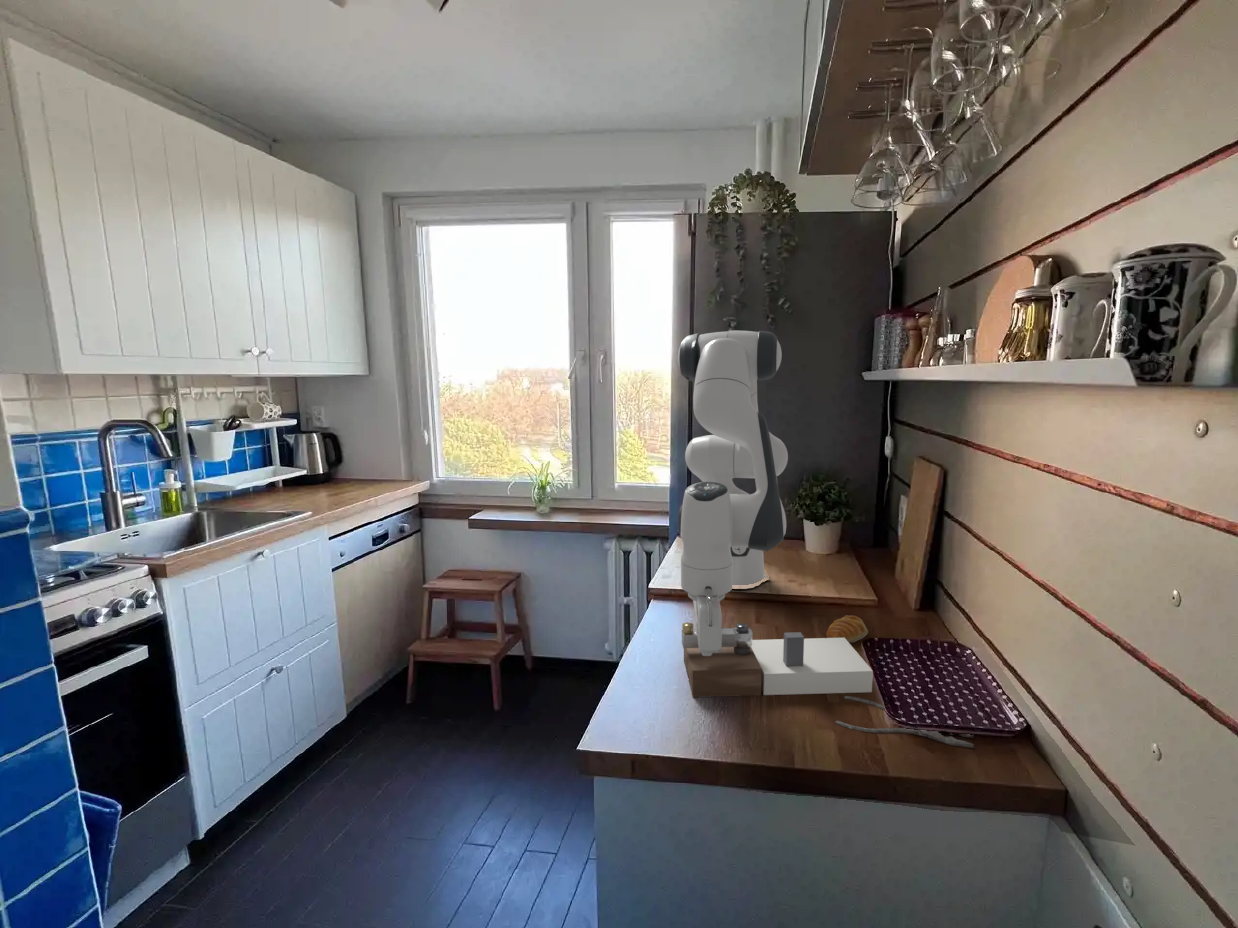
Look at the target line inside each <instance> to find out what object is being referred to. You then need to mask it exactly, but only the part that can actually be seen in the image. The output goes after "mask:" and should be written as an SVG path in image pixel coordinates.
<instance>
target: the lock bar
mask: <svg viewBox="0 0 1238 928" xmlns="http://www.w3.org/2000/svg"><path fill="white" fill-rule="evenodd" d="M749 627H750V626H749V624H747V623H742V622H741V623H737V624H736V626H735V627H733V628H728V627H727V628H722V647H738V648H749V647H751V646H752V640H753V629H751V628H749ZM681 644H682V649H684V648H699V646H698V637H697V628H695V629H694V623H692V622H683V623H682V628H681Z"/></svg>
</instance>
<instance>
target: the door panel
mask: <svg viewBox="0 0 1238 928" xmlns="http://www.w3.org/2000/svg"><path fill="white" fill-rule="evenodd" d="M751 648H752V650H753V652H754V654H755V656H756V658H757V660H758V662H759V664H760V666H761V668H762V675H761V693H762V695H763V696H775V695H776V696H777V695H778V696H779V695H782V696H783V695H815V694H816V695H818V694H819V695H820V694H847V693H848V694H851V693H852V694H854V693H855V694H856V693H872V692H873V678H874V677H873V676H874V671H873V669H872V668H871V667H870V666H869V665H868V663H867V662H866V661H865V660H864V659H863V657H862V656H860V654H859V653H858V652H857V650H855V648H854V647H853V646H852V644H851V643H849V642H848V641H847V640H846V639H845V638H827V637H821V638H820V637H818V638H817V637H815V638H814V637H813V638H805V637H804V635H803V633H802V632H801V631H798V632H796V631H795V632H792V631H791V632H783V638H780V639H779V638H777V639H773V638H772V639H752V646H751Z"/></svg>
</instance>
